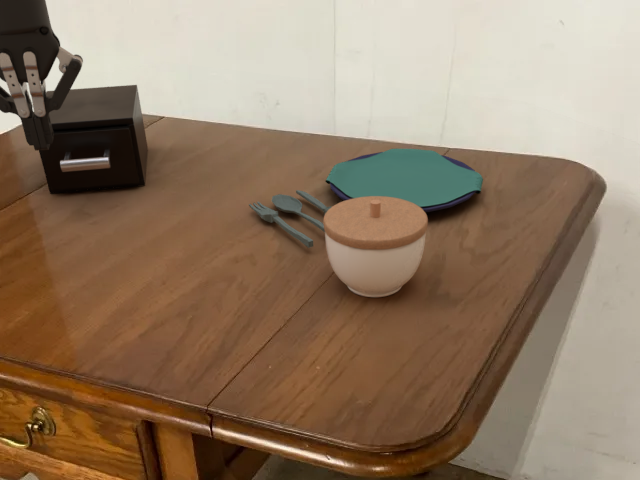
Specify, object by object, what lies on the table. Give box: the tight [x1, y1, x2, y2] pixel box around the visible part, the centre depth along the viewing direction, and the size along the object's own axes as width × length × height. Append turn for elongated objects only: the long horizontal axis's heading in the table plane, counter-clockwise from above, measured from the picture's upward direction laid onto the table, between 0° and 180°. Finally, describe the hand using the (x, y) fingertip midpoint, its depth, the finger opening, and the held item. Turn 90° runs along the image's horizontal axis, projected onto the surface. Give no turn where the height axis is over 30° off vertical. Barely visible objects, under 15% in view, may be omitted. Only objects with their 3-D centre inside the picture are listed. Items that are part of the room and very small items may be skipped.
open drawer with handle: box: [42, 125, 139, 190], centre depth 105 cm, size 18×12×7 cm, turn 9°
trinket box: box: [323, 196, 429, 298], centre depth 81 cm, size 11×11×9 cm
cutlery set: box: [248, 148, 484, 249], centre depth 100 cm, size 20×30×2 cm, turn 122°
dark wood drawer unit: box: [38, 84, 149, 194], centre depth 108 cm, size 15×13×9 cm
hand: (43, 147), depth 87 cm, fingers closed
